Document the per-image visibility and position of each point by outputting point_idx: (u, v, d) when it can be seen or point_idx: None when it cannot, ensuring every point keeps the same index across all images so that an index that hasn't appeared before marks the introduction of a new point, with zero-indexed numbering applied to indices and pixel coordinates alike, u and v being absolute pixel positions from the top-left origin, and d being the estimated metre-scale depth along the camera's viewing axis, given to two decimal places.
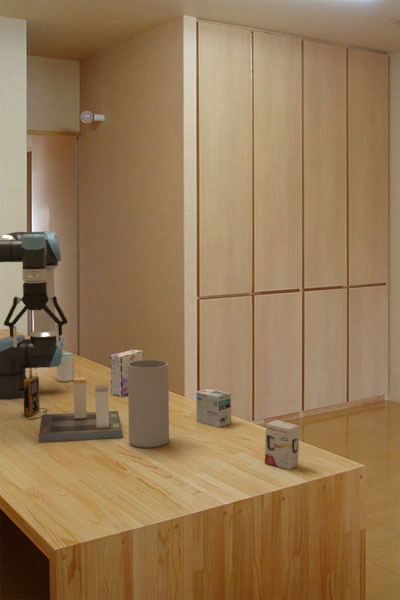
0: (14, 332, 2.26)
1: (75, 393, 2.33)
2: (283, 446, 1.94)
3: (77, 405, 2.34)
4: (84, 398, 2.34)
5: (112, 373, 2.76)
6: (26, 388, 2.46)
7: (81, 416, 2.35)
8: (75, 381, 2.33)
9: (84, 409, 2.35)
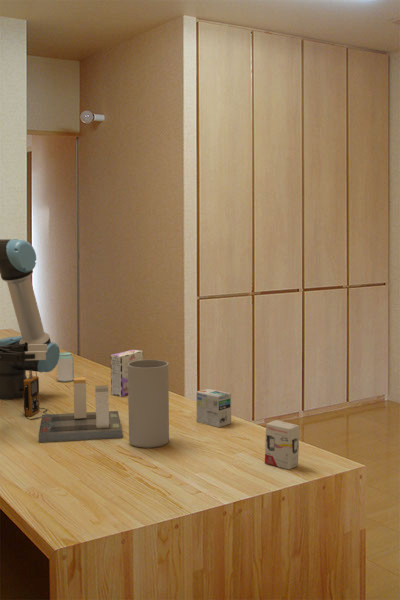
0: (29, 351, 2.25)
1: (75, 393, 2.33)
2: (283, 446, 1.94)
3: (77, 405, 2.34)
4: (84, 398, 2.34)
5: (112, 373, 2.76)
6: (26, 388, 2.46)
7: (81, 416, 2.35)
8: (75, 381, 2.33)
9: (84, 409, 2.35)
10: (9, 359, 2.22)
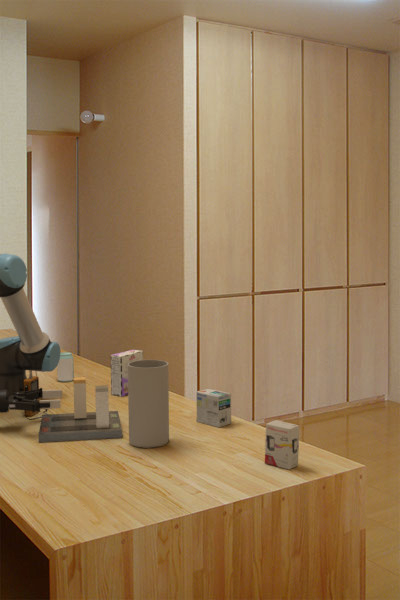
0: (45, 400, 2.27)
1: (75, 393, 2.33)
2: (283, 446, 1.94)
3: (77, 405, 2.34)
4: (84, 398, 2.34)
5: (112, 373, 2.76)
6: (26, 388, 2.46)
7: (81, 416, 2.35)
8: (75, 381, 2.33)
9: (84, 409, 2.35)
10: (24, 408, 2.25)
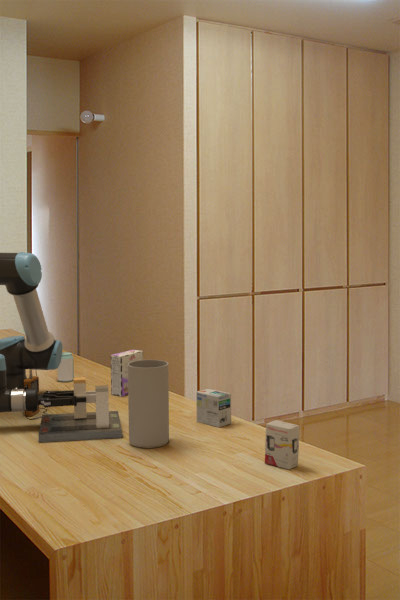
0: (81, 395, 2.33)
1: (75, 393, 2.33)
2: (283, 446, 1.94)
3: (77, 405, 2.34)
4: None
5: (112, 373, 2.76)
6: (26, 388, 2.46)
7: (81, 416, 2.35)
8: (75, 381, 2.33)
9: (84, 409, 2.35)
10: (61, 404, 2.29)
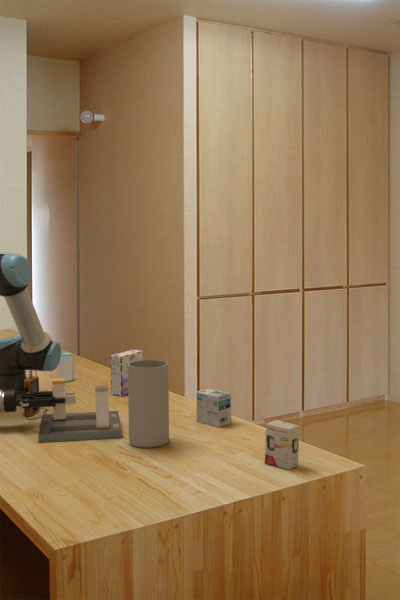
0: (60, 396, 2.32)
1: (54, 394, 2.32)
2: (283, 446, 1.94)
3: (56, 406, 2.33)
4: None
5: (112, 373, 2.76)
6: (26, 388, 2.46)
7: (60, 417, 2.33)
8: (54, 382, 2.32)
9: (63, 410, 2.33)
10: (40, 405, 2.28)
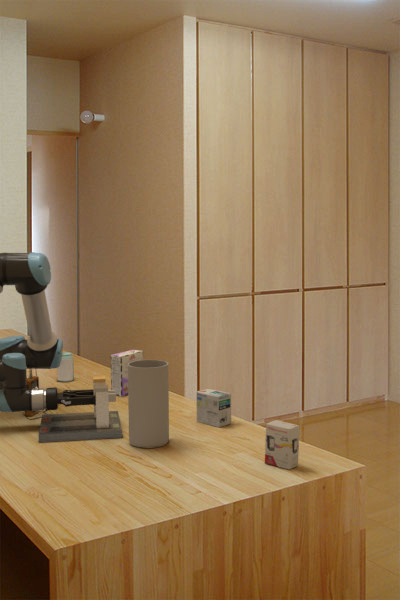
0: None
1: None
2: (283, 446, 1.94)
3: None
4: None
5: (112, 373, 2.76)
6: None
7: None
8: (95, 380, 2.34)
9: None
10: (82, 403, 2.30)
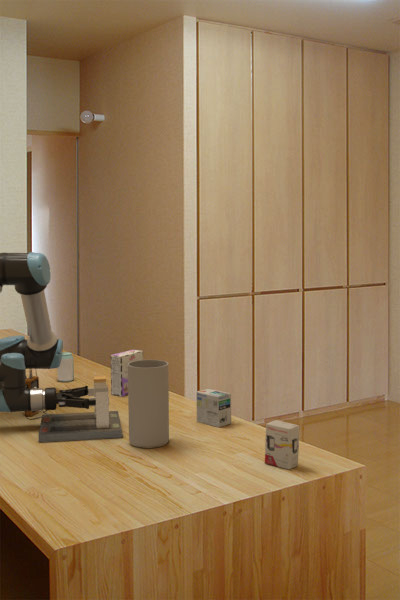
0: None
1: None
2: (283, 446, 1.94)
3: None
4: None
5: (112, 373, 2.76)
6: (26, 388, 2.46)
7: None
8: (95, 380, 2.34)
9: None
10: (74, 405, 2.27)
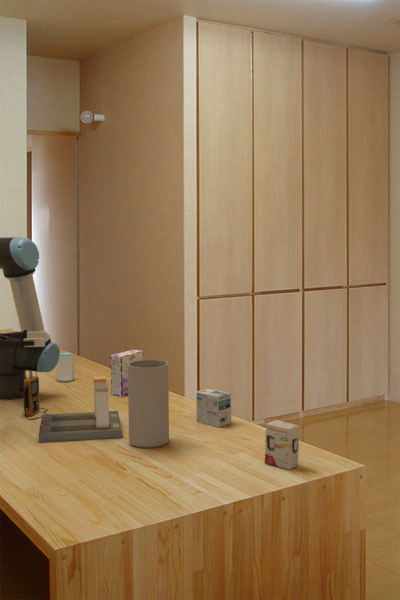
0: (29, 338, 2.24)
1: None
2: (283, 446, 1.94)
3: None
4: None
5: (112, 373, 2.76)
6: (26, 388, 2.46)
7: None
8: (95, 380, 2.34)
9: None
10: (8, 346, 2.22)
